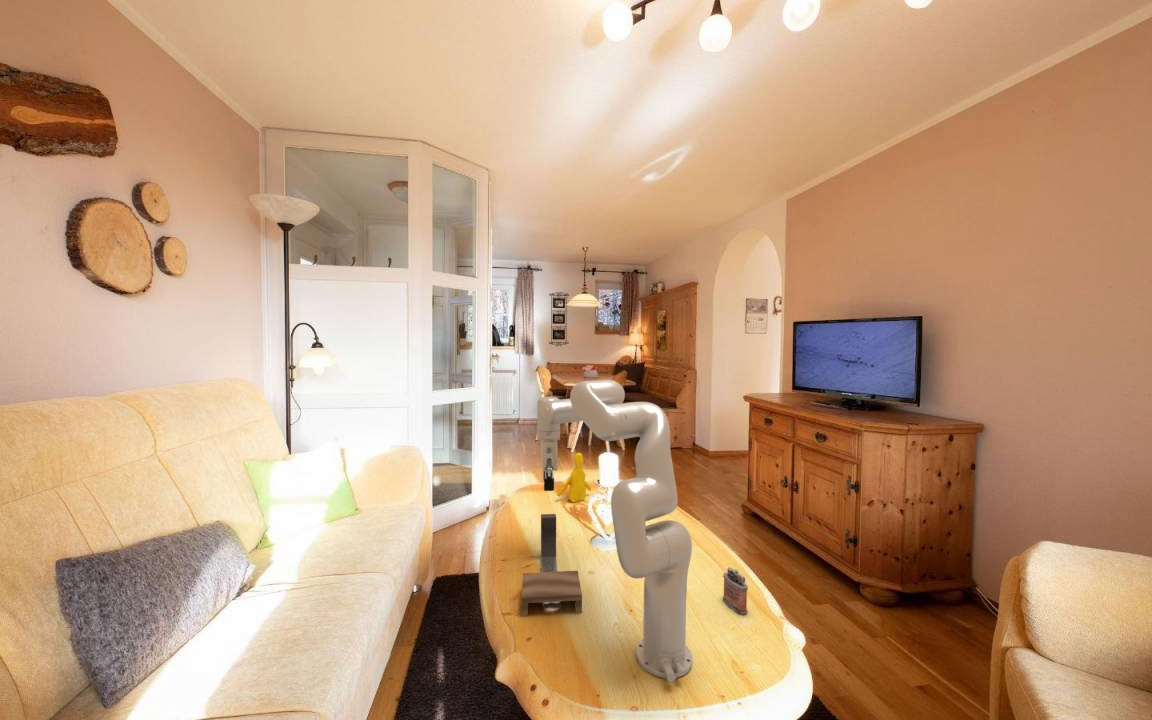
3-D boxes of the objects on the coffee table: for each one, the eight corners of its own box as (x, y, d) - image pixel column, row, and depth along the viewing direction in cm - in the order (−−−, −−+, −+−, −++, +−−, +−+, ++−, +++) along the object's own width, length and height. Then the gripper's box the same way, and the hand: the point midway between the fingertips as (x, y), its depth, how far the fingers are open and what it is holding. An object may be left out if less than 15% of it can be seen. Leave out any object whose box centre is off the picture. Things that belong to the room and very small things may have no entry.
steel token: (561, 612, 117) (561, 608, 117) (542, 613, 116) (542, 609, 116) (560, 601, 122) (560, 597, 122) (542, 602, 121) (542, 598, 121)
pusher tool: (558, 586, 129) (558, 540, 128) (541, 587, 128) (541, 540, 127) (555, 554, 147) (555, 513, 147) (540, 554, 147) (540, 514, 146)
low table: (581, 612, 116) (582, 594, 116) (521, 616, 115) (521, 597, 114) (577, 587, 128) (577, 570, 128) (522, 589, 127) (522, 573, 126)
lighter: (719, 599, 122) (720, 565, 122) (729, 597, 123) (730, 562, 123) (740, 616, 115) (740, 580, 114) (750, 614, 116) (751, 577, 115)
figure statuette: (588, 494, 204) (589, 447, 203) (597, 499, 197) (597, 451, 196) (554, 500, 196) (554, 452, 194) (562, 506, 189) (562, 456, 187)
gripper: (561, 440, 135) (561, 494, 136) (558, 428, 152) (558, 476, 153) (537, 441, 135) (537, 495, 136) (537, 429, 152) (537, 477, 153)
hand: (548, 485), depth 144 cm, fingers open, 9 cm apart
